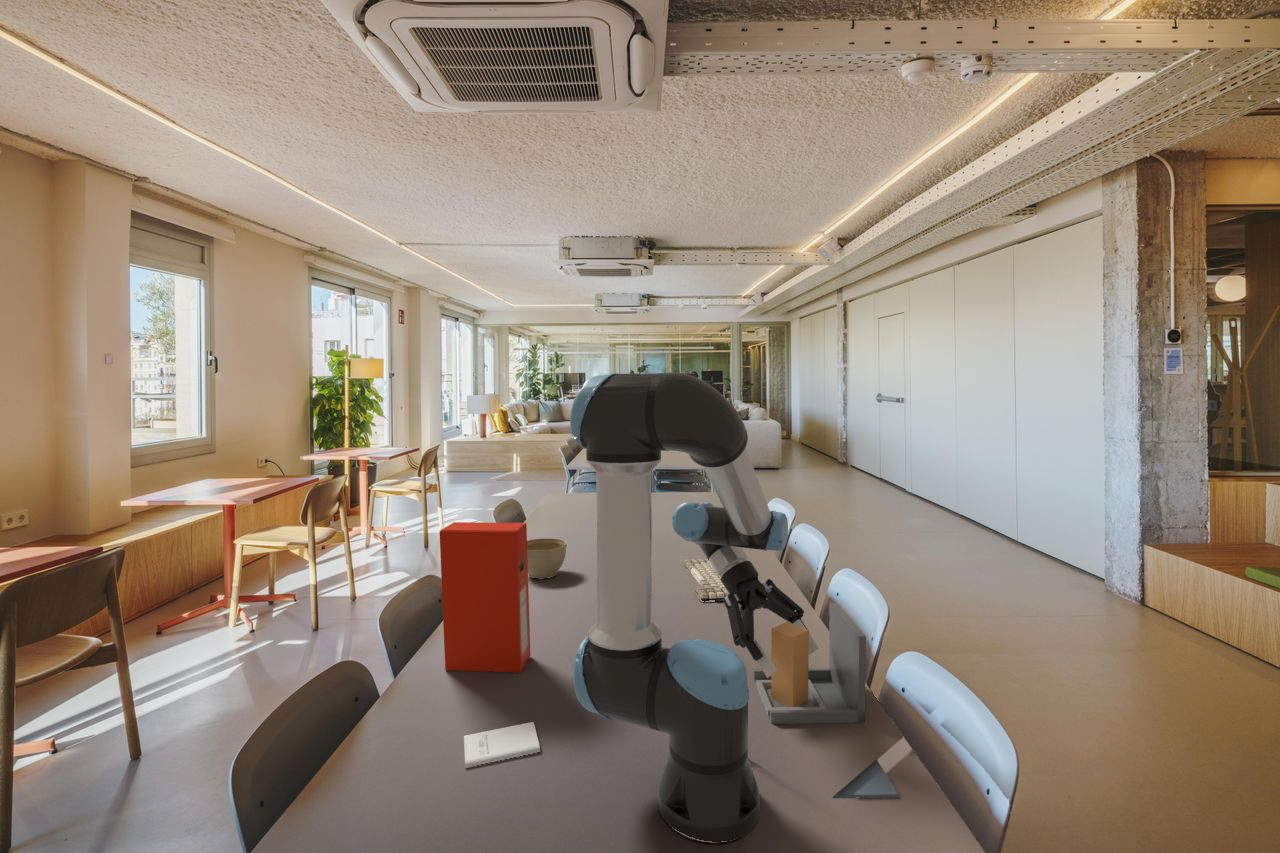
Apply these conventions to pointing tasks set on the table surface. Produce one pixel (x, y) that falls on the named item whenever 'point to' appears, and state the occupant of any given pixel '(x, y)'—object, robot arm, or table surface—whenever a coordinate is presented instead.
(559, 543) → the planter bowl
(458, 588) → the file binder
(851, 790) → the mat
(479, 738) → the external hard drive
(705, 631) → the table surface
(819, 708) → the case
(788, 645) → the module
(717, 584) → the mechanical keyboard
